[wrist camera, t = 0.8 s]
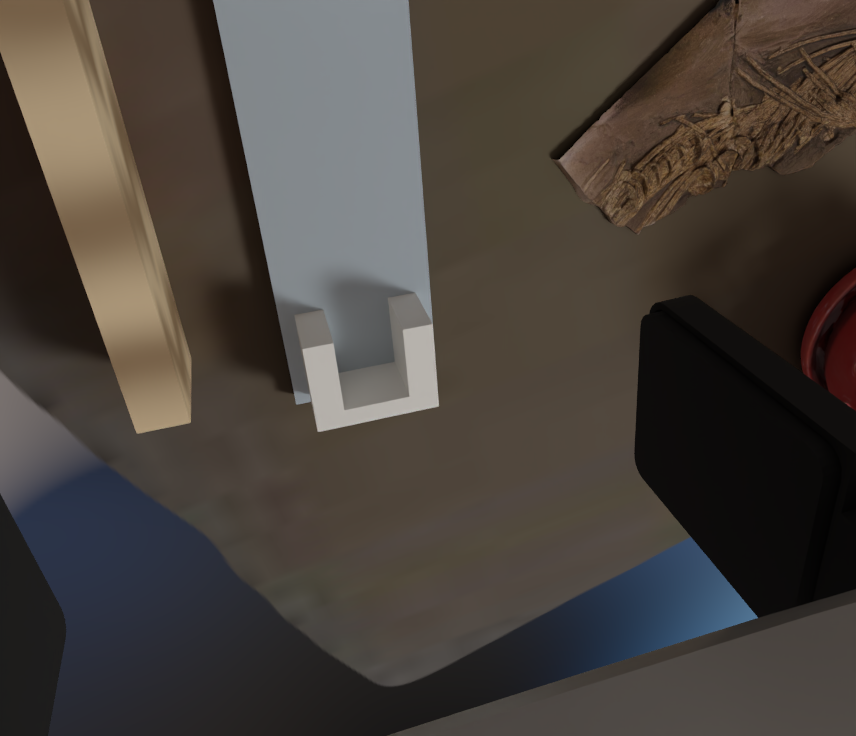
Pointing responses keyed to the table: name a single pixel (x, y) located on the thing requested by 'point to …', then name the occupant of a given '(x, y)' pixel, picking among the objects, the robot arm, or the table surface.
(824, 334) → the plant pot
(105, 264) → the slat
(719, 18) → the wooden fragment
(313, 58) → the endcap board
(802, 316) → the table surface
